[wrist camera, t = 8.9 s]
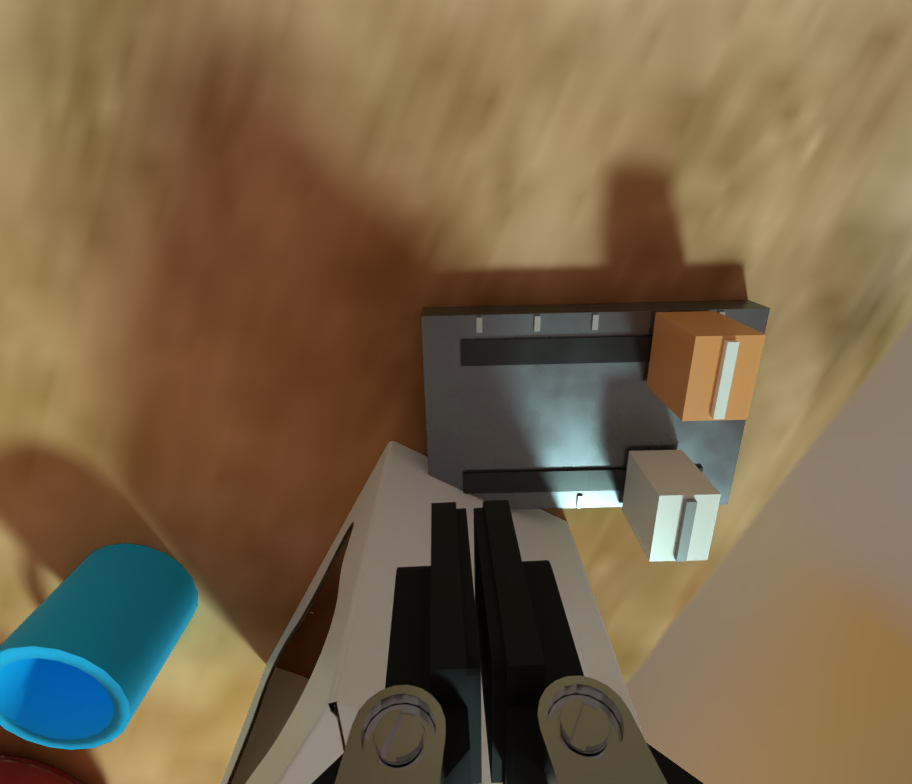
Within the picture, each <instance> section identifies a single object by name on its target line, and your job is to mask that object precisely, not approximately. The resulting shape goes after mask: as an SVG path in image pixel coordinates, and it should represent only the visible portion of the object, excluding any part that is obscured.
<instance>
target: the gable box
mask: <svg viewBox="0 0 912 784" xmlns="http://www.w3.org/2000/svg"><path fill="white" fill-rule="evenodd" d="M483 501H484V500H483ZM483 501H481V500H479V499H478V497H475V496H473V495H471V494H465V493H463V491H462V490H460V489H458V488H456V487H453V486H451V485H449V484H447V483H445V482H443V481H440V480H438V479H436V478H434V477H432V476H429V472H428V457H427V456H425V455H423V454H421V453H419V452H416V451H414V450H412V449H410V448H408V447H406V446H403V445H401V444H399V443H397V442H395V441H391V442H388V444H387V446H386V448H385V450H384V451H383V453H382V455H381V457H380V459H379V460H378V462H377V464H376V466H375V468H374V470H373V471H372V473H371V475H370V477H369V479H368V480H367V482H366V484H365V486H364V488H363V490H362V491H361V493H360V495H359V497H358V499H357V500H356V502H355V504H354V506H353V508H352V509H351V511H350V513H349V515H348V517H347V519H346V520H345V522H344V524H343V526H342V528H341V529H340V531H339V533H338V535H337V537H336V539H335V540H334V542H333V544H332V546H331V548H330V549H329V551H328V553H327V555H326V557H325V559H324V560H323V562H322V564H321V566H320V568H319V569H318V571H317V573H316V575H315V577H314V578H313V580H312V582H311V584H310V586H309V588H308V589H307V591H306V593H305V595H304V597H303V598H302V600H301V602H300V604H299V606H298V608H297V609H296V611H295V613H294V615H293V617H292V618H291V620H290V622H289V624H288V626H287V628H286V629H285V631H284V633H283V635H282V637H281V638H280V640H279V642H278V644H277V646H276V647H275V649H274V651H273V653H272V655H271V657H270V658H269V660H268V662H267V664H266V667H265V669H264V672H263V674H262V677H261V680H260V682H259V685H258V688H257V690H256V693H255V695H254V698H253V701H252V703H251V706H250V709H249V711H248V714H247V716H246V719H245V722H244V724H243V727H242V730H241V732H240V735H239V737H238V740H237V743H236V745H235V748H234V751H233V753H232V756H231V758H230V761H229V764H228V766H227V769H226V772H225V774H224V777H223V779H222V782H221V784H312V783H313V782H314V781H315V780H316V779H317V778H318V777H319V776H320V775H321V774H322V773H323V772H324V771H325V770H326V769H327V768H328V767H329V766H330V765H331V764H332V763H334V762H335V761H336V760H337V759H338V758H339V757H340V756H341V755H342V754H343V753H344V750H345V747H346V743H347V740H348V737H349V733H350V730H351V726H352V724H353V721H354V719H355V717H356V715H357V713H358V711H359V709H360V708H361V707H362V706H363V705H364V703H365V702H366V701H367V700H368V699H369V698H370V697H372V696H373V695H375V694H376V693H377V692H379V691H380V690H383V689H385V683H386V672H387V662H388V651H389V641H390V630H391V620H392V610H393V599H394V589H395V578H396V570H397V567H414V566H431V503H444V502H456V509H461V508H466V513H467V523H468V534H469V545H470V555H471V566H472V577H473V587H474V598H475V583H474V508H483ZM510 510H511V514H512V519H513V523H514V528H515V532H516V537H517V541H518V545H519V550H520V554H521V559H522V561H540V560H548V561H549V562H550V564H551V567H552V569H553V573H554V576H555V580H556V583H557V586H558V590H559V593H560V596H561V600H562V603H563V606H564V610H565V613H566V617H567V620H568V623H569V627H570V630H571V633H572V637H573V640H574V643H575V647H576V650H577V654H578V657H579V660H580V664H581V667H582V670H583V674H584V676H585V677H589V678H593V679H596V680H598V681H600V682H602V683H604V684H606V685H607V686H609V687H610V688H611V689H612V690H613V691H615V692H616V693H617V694H618V695H619V696H620V697H621V698H622V700H623V701H624V703H625V704H626V706H627V707H628V708H629V710H630V712H631V714H632V716H633V718H634V720H635V722H636V724H637V726H638V727H639V729H640V731H641V733H642V735H643V732H642V729H641V726H640V723H639V721H638V718H637V715H636V712H635V709H634V707H633V704H632V701H631V698H630V695H629V693H628V690H627V687H626V684H625V681H624V679H623V676H622V673H621V670H620V667H619V665H618V662H617V659H616V656H615V653H614V651H613V648H612V645H611V642H610V639H609V637H608V634H607V631H606V628H605V625H604V623H603V620H602V617H601V614H600V611H599V609H598V606H597V603H596V600H595V597H594V595H593V592H592V589H591V586H590V584H589V581H588V578H587V575H586V572H585V570H584V567H583V564H582V561H581V558H580V556H579V553H578V550H577V547H576V544H575V542H574V539H573V536H572V533H571V530H570V528H569V525H568V522H567V521H565V520H563V519H561V518H559V517H556V516H554V515H552V514H550V513H548V512H546V511H543V510H541V509H510ZM352 529H353V530H352ZM351 530H352V533H351V537H350V540H349V543H348V546H347V549H346V553H345V556H344V560H343V564H342V568H341V574H340V581H339V590H338V598H337V603H336V608H335V612H334V616H333V620H332V623H331V626H330V630H329V633H328V636H327V638H326V641H325V644H324V646H323V649H322V652H321V654H320V656H319V659H318V661H317V664H316V666H315V668H314V670H313V673H312V675H311V677H310V679H309V678H306V677H303V676H300V675H297V674H294V673H292V672H289V671H286V670H283V669H280V668H277V667H276V666H277V663H278V661H279V659H280V657H281V656H282V654H283V652H284V650H285V648H286V647H287V645H288V643H289V642H290V640H291V638H292V637H293V635H294V634H295V632H296V631H297V629H298V628H299V626H300V625H301V623H302V621H303V620H304V618H305V617H306V615H307V613H308V611H309V610H310V608H311V606H312V604H313V602H314V601H315V599H316V597H317V595H318V593H319V591H320V590H321V588H322V586H323V584H324V582H325V580H326V578H327V576H328V574H329V572H330V570H331V568H332V566H333V564H334V562H335V560H336V558H337V556H338V554H339V552H340V550H341V548H342V546H343V544H344V543H345V541H346V539H347V537H348V535H349V533H350V532H351ZM309 613H314V612H311V611H310V612H309ZM643 737H644V735H643ZM644 739H645V738H644ZM645 741H646V740H645ZM481 751H482V784H503V783H491V776H490V766H489V755H488V744H487V734H486V723H485V712H484V701H483V691H482V680H481Z"/></svg>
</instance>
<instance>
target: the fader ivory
mask: <svg viewBox="0 0 912 784" xmlns="http://www.w3.org/2000/svg"><path fill="white" fill-rule="evenodd" d="M720 497H721V494H720V492H719V491H718V490H717V489H716V488H715V487H714V486H713V485H712V483H711V482H710V481H709V480H708V479H707V478H706V477H705V476H704V474H703V473H702V472H701V471H700V470H699V469H698V468H697V466H696V465H695V464H694V463H693V462H692V461H691V460H690V459H689V457H688V456H687V455H686V454H685V453H684V452H683V451H682V450H646V451H629V455H628V463H627V472H626V480H625V488H624V496H623V504H622V511H623V513H624V515H625V517H626V518H627V520H628V522H629V524H630V526H631V528H632V530H633V532H634V534H635V535H636V537H637V539H638V541H639V543H640V545H641V547H642V549H643V550H644V552H645V554H646V556H647V558H648V560H649V561H676V562H685V561H686V560H707V559H708V554H709V550H710V545H711V540H712V535H713V530H714V526H715V521H716V516H717V511H718V507H719V502H720Z"/></svg>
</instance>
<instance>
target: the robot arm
mask: <svg viewBox="0 0 912 784" xmlns="http://www.w3.org/2000/svg"><path fill="white" fill-rule="evenodd" d="M474 583H475V598H474V587H473V577H472V566H471V555H470V545H469V534H468V523H467V513H466V508H461V509H456V502H444V503H431V566H414V567H397V570H396V578H395V589H394V599H393V610H392V620H391V630H390V641H389V651H388V662H387V672H386V683H385V689H383V690H380V691H379V692H377V693H376V694H375V695H373V696H372V697H370V698H369V699H368V700H367V701H366V702H365V703H364V705H363V706H362V707H361V708H360V709H359V711H358V713H357V715H356V717H355V719H354V721H353V724H352V726H351V730H350V733H349V737H348V740H347V743H346V747H345V750H344V753H343V754H342V755H341V756H340V757H339V758H338V759H337V760H336V761H335V762H334V763H332V764H331V765H330V766H329V767H328V768H327V769H326V770H325V771H324V772H323V773H322V774H321V775H320V776H319V777H318V778H317V779H316V780H315V781H314V782H313V783H312V784H482V751H481V680H482V691H483V701H484V712H485V723H486V734H487V744H488V755H489V766H490V776H491V783H503V784H703V783H702V782H700V781H699V780H698V779H696V778H695V777H693V776H692V775H691V774H689V773H688V772H686V771H685V770H684V769H682V768H681V767H679V766H678V765H677V764H675V763H674V762H672V761H671V760H670V759H668V758H667V757H665V756H664V755H663V754H661V753H660V752H658V751H657V750H656V749H654V748H653V747H651V746H650V745H649V744H647V743H646V741H645V739H644V737H643V735H642V733H641V731H640V729H639V727H638V726H637V724H636V722H635V720H634V718H633V716H632V714H631V712H630V710H629V708H628V707H627V706H626V704H625V703H624V701H623V700H622V698H621V697H620V696H619V695H618V694H617V693H616V692H615V691H613V690H612V689H611V688H610V687H609V686H607V685H606V684H604V683H602V682H600V681H598V680H596V679H593V678H589V677H585V676H584V674H583V670H582V667H581V664H580V660H579V657H578V654H577V650H576V647H575V643H574V640H573V637H572V633H571V630H570V627H569V623H568V620H567V617H566V613H565V610H564V606H563V603H562V600H561V596H560V593H559V590H558V586H557V583H556V580H555V576H554V573H553V569H552V567H551V564H550V562H549V561H548V560H540V561H522V559H521V554H520V550H519V545H518V541H517V537H516V532H515V528H514V523H513V519H512V514H511V510H510V505H509V502H508V500H489V501H483V508H474Z"/></svg>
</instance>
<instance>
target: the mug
mask: <svg viewBox="0 0 912 784" xmlns="http://www.w3.org/2000/svg"><path fill="white" fill-rule="evenodd" d="M197 606H198V591H197V589H196V587H195V584H194V582H193V579H192V577H191V576H190V575H189V574H188V573H187V571H186V570H185V569H184V568H183V567H182V565H181V564H179V563H178V562H176V561H175V560H174V559H172V558H171V557H169V556H168V555H166V554H165V553H162V552H160V551H157V550H155V549H152V548H150V547H147V546H142V545H135V544H128V543H124V544H115V545H107V546H105V547H103V548H100V549H98V550H96V551H93V552H92V553H91V554H90V555H89V556H88V557H87V558H86V559H85V560H84V561H83V562H82V563H81V564H80V565H79V566H78V567H77V568H76V569H75V570H74V571H73V572H72V573H71V574H70V575H69V576H68V577H67V578H66V579H65V580H64V581H63V582H62V583H61V584H60V585H59V586H58V587H57V588H56V589H55V590H54V591H53V592H52V594H51V595H50V596H49V597H48V598H47V599H46V600H45V601H44V602H43V603H42V604H41V605H40V606H39V607H38V608H37V609H36V610H35V611H34V612H33V613H32V614H31V615H30V616H29V617H28V618H27V619H26V620H25V621H24V622H23V623H22V624H21V625H20V626H19V627H18V628H17V629H16V630H15V631H14V632H13V633H12V634H11V635H10V636H9V637H8V638H7V639H6V640H5V641H4V642H3V643H2V644H1V645H0V726H2V727H3V728H4V729H5V730H7V731H9V732H11V733H13V734H15V735H17V736H19V737H21V738H23V739H25V740H27V741H30V742H34V743H37V744H40V745H43V746H47V747H52V748H61V749H70V750H74V749H85V748H94V747H97V746H100V745H102V744H105V743H108V742H111V741H112V740H113V739H115V738H116V737H117V736H118V735H119V734H121V733H122V732H123V731H124V730H125V728H126V726H127V725H128V723H129V721H130V720H131V718H132V716H133V715H134V713H135V711H136V710H137V708H138V706H139V705H140V703H141V701H142V700H143V698H144V696H145V695H146V693H147V691H148V690H149V688H150V686H151V685H152V683H153V682H154V680H155V678H156V677H157V675H158V673H159V672H160V670H161V668H162V667H163V665H164V663H165V662H166V660H167V658H168V657H169V655H170V653H171V652H172V650H173V648H174V647H175V645H176V643H177V642H178V640H179V638H180V637H181V635H182V633H183V632H184V630H185V628H186V627H187V625H188V623H189V622H190V620H191V618H192V617H193V614H194V612H195V610H196V608H197Z"/></svg>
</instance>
